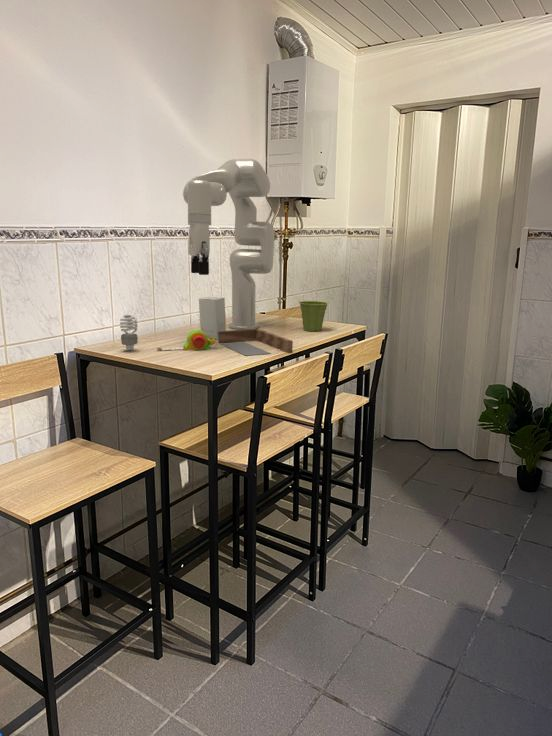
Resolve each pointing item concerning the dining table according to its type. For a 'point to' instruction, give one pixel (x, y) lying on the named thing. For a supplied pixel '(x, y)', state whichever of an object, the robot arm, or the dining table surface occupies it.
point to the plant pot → (313, 314)
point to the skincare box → (212, 316)
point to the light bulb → (132, 337)
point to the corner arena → (256, 338)
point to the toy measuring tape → (195, 341)
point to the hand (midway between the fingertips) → (199, 273)
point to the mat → (245, 348)
